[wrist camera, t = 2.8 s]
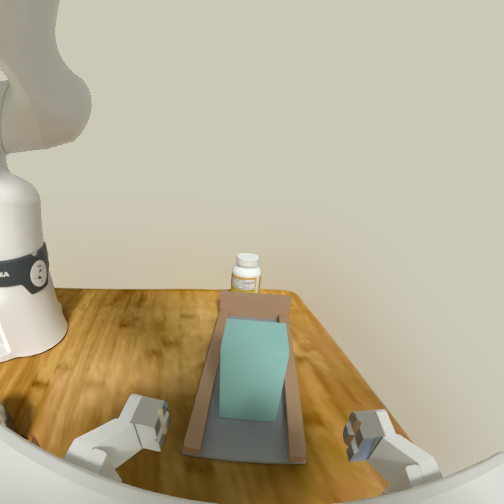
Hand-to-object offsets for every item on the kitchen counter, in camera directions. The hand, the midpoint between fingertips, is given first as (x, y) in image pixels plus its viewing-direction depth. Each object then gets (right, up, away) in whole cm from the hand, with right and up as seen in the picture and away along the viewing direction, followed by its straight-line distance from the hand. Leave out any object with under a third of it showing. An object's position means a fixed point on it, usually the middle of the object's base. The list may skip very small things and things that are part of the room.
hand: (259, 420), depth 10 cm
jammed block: (-1, -11, +19) cm, 22 cm away
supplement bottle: (-2, -3, +44) cm, 44 cm away
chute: (-1, -9, +26) cm, 27 cm away
